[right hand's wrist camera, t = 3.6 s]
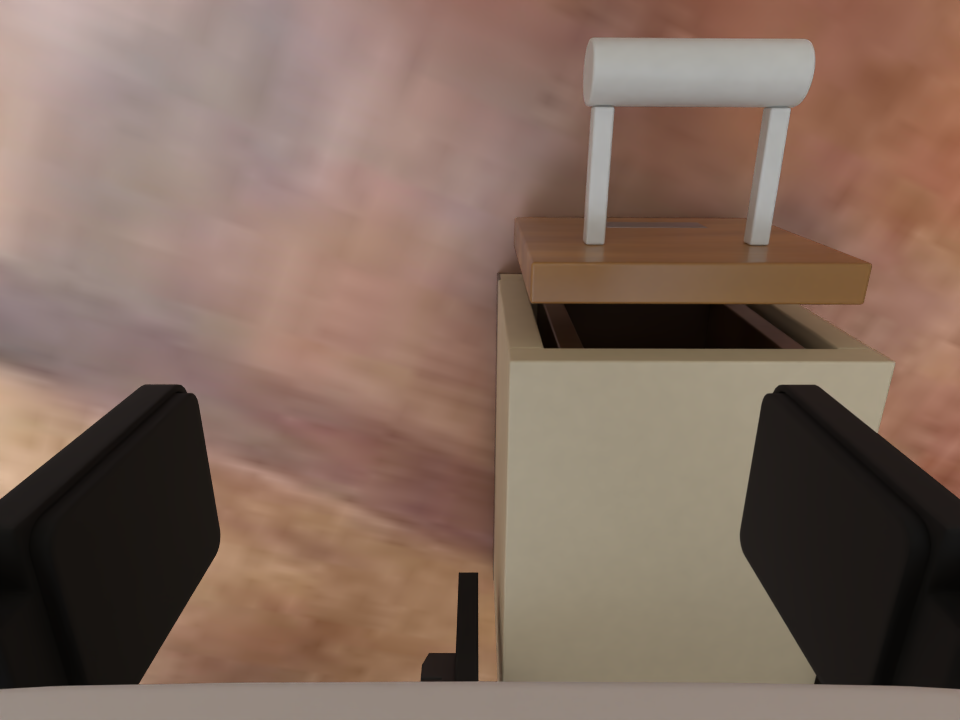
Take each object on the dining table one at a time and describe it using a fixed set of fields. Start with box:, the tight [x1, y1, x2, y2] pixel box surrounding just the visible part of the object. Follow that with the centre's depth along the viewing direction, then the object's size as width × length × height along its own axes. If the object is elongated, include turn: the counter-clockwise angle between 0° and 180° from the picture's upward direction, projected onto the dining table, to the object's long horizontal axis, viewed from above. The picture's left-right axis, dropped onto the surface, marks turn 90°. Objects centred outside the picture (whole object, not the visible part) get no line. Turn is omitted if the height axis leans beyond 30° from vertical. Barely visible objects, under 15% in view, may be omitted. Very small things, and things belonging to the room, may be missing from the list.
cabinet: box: [493, 273, 895, 684], centre depth 25 cm, size 15×11×10 cm
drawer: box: [514, 37, 872, 349], centre depth 23 cm, size 20×9×8 cm, turn 0°
